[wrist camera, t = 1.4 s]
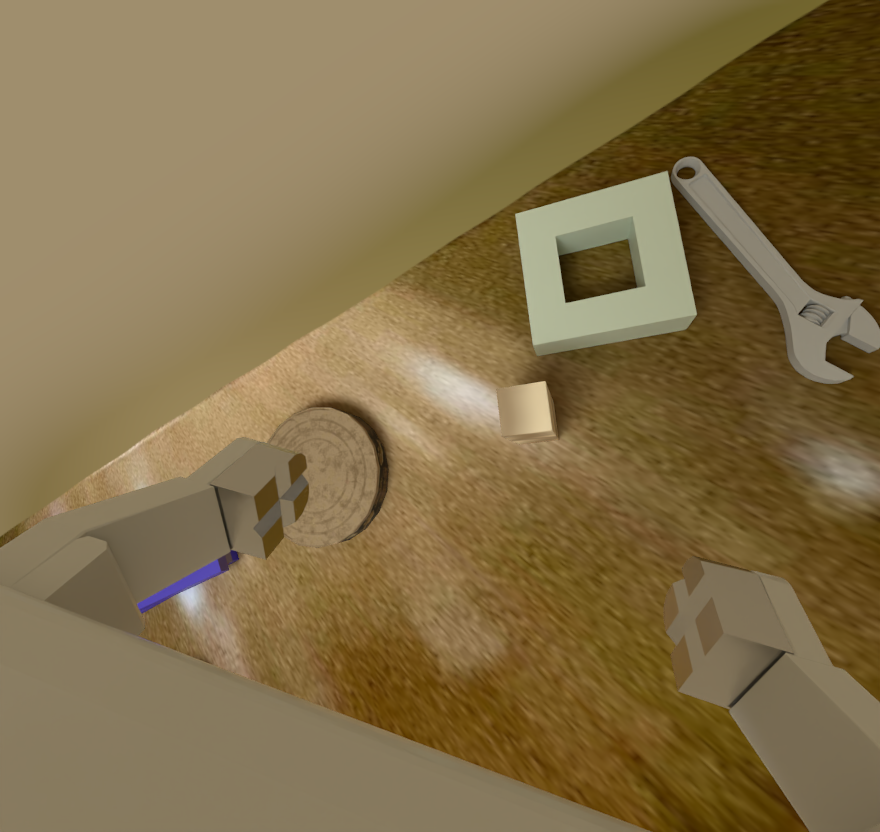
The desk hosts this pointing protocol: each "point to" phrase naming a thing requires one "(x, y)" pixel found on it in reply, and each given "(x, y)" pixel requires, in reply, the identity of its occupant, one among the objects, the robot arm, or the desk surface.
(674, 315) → the pale green square frame
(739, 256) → the adjustable wrench
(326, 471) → the wood slice
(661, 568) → the desk surface
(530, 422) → the wooden block
